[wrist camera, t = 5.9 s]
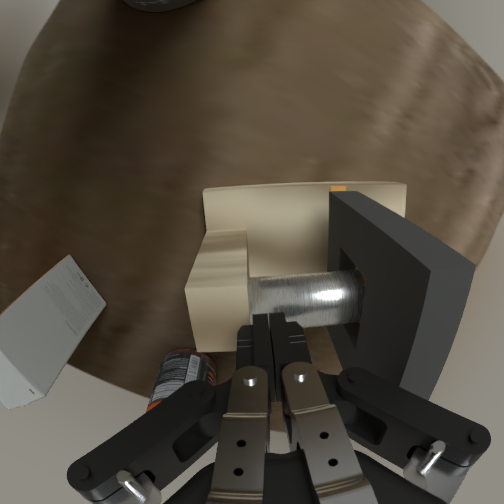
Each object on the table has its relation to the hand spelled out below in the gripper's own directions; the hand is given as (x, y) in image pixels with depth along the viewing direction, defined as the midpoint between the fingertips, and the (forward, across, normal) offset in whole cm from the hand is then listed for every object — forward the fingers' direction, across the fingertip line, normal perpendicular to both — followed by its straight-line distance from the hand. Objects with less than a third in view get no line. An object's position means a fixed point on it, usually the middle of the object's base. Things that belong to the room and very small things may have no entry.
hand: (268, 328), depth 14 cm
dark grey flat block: (+7, -6, 0) cm, 9 cm away
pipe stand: (+11, -4, 0) cm, 12 cm away
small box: (+12, +20, +4) cm, 23 cm away
